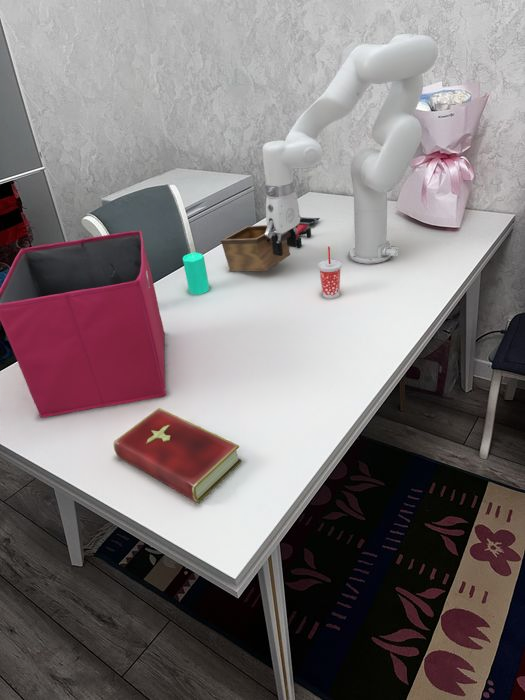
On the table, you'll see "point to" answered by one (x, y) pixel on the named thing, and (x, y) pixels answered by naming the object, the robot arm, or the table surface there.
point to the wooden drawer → (253, 249)
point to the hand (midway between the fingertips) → (285, 249)
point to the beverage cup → (330, 277)
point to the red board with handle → (302, 226)
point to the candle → (196, 273)
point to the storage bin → (85, 323)
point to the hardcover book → (178, 453)
